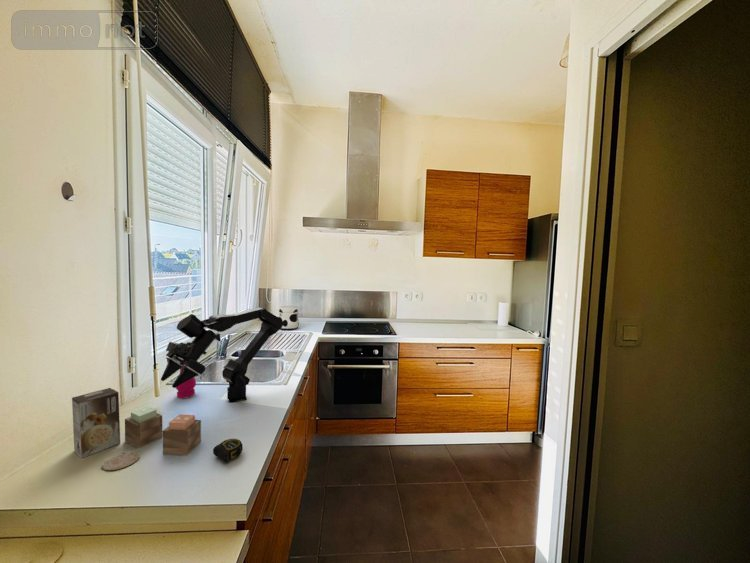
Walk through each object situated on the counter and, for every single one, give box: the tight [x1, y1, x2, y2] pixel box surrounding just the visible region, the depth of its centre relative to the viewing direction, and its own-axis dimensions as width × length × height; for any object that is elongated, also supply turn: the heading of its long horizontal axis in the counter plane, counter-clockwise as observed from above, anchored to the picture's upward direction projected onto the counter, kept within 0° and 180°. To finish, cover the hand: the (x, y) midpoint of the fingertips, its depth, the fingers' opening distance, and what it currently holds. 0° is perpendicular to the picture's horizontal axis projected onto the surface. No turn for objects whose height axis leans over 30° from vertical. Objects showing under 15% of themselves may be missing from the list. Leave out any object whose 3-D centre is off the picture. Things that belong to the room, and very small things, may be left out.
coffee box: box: [71, 387, 121, 459], centre depth 92 cm, size 9×6×16 cm
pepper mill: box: [175, 364, 197, 399], centre depth 128 cm, size 7×7×20 cm
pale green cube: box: [130, 405, 158, 423], centre depth 97 cm, size 5×5×5 cm
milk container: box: [278, 305, 300, 331], centre depth 259 cm, size 17×17×18 cm
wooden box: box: [162, 419, 202, 457], centre depth 93 cm, size 7×7×7 cm
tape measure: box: [212, 438, 243, 464], centre depth 90 cm, size 7×7×4 cm
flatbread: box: [101, 451, 141, 471], centre depth 86 cm, size 8×8×1 cm
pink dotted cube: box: [168, 413, 196, 430], centre depth 93 cm, size 5×5×5 cm
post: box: [124, 412, 163, 449], centre depth 97 cm, size 7×7×7 cm
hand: (167, 383), depth 106 cm, fingers open, 9 cm apart
